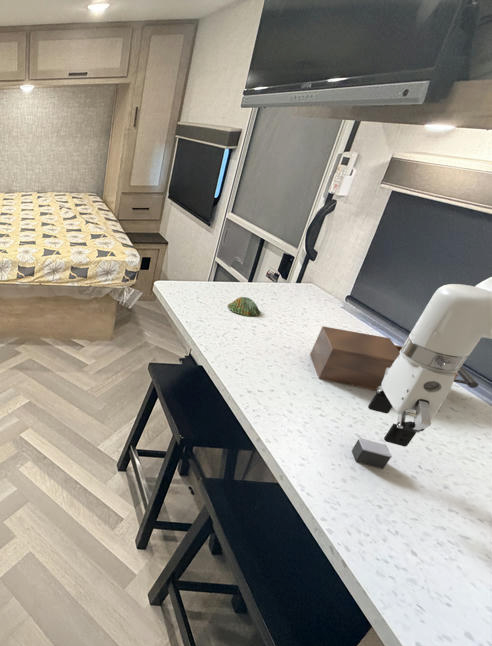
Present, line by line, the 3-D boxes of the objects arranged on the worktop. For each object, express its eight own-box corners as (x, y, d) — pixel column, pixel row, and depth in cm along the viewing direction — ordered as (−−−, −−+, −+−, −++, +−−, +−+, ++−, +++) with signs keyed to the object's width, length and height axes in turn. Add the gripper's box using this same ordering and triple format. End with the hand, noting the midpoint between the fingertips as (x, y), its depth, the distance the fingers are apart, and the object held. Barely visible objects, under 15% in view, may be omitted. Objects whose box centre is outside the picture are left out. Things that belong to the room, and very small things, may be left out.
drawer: (448, 380, 103) (465, 355, 99) (471, 407, 94) (490, 381, 90) (357, 362, 110) (369, 338, 107) (369, 385, 101) (383, 360, 98)
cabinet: (373, 367, 110) (389, 338, 105) (389, 394, 100) (408, 362, 95) (309, 354, 116) (322, 326, 111) (318, 378, 106) (333, 348, 101)
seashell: (232, 302, 136) (230, 291, 144) (228, 312, 138) (226, 301, 146) (265, 309, 133) (261, 298, 141) (260, 320, 135) (257, 308, 143)
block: (377, 457, 82) (386, 444, 80) (383, 469, 79) (392, 456, 78) (351, 450, 84) (358, 437, 82) (355, 461, 81) (363, 448, 80)
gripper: (489, 388, 61) (429, 465, 69) (438, 335, 75) (394, 405, 83) (424, 374, 64) (375, 450, 72) (387, 326, 78) (349, 394, 86)
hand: (385, 426), depth 77 cm, fingers open, 9 cm apart
